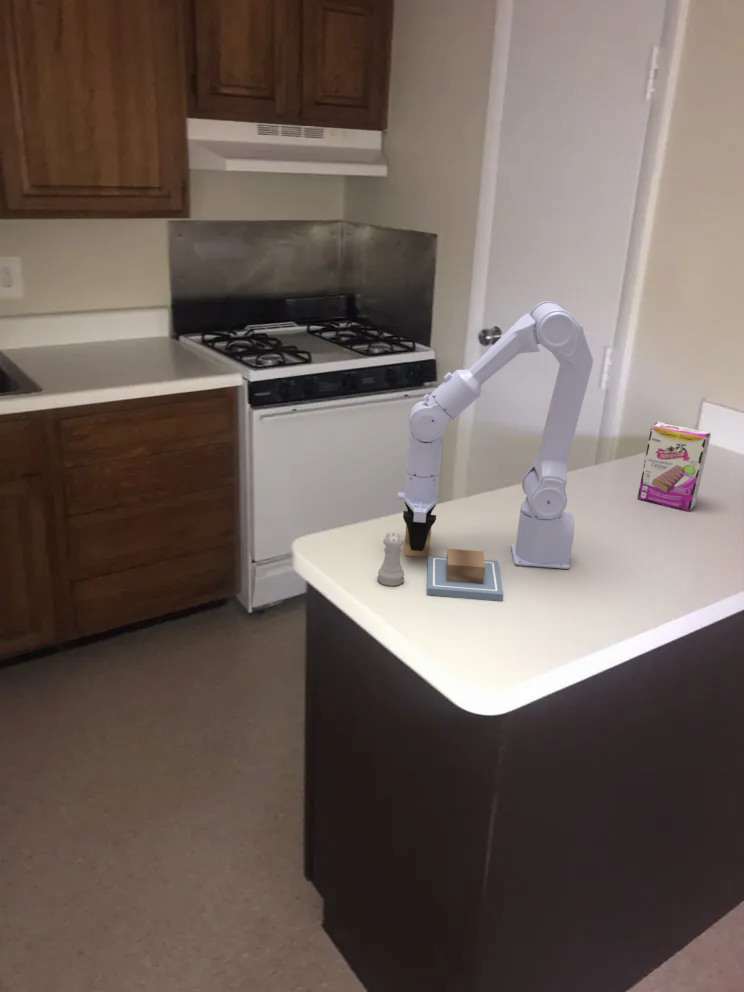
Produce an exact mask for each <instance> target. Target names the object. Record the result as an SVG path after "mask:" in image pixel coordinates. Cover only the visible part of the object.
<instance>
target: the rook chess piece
mask: <svg viewBox="0 0 744 992" xmlns="http://www.w3.org/2000/svg"><path fill="white" fill-rule="evenodd" d="M382 540H383V541H382V542H383V544H384V545H385V548H384V549H383V551H384V559H383V562H382V564H381V565H380V568H379V569H378V571H377V572H378V573H377V574H378V575H377V580H378V582H380V583H381V584H382V585H384V586H387V587H395V586H396V587H397V586H399V585H401V584H402V583H403V582H404V581H405V577H404V576H405V572H404V569H403V567H402V564H401V558H400V557H401V552H402V549H401V546H403V544H404V541H403V539H402V536H401V535H400V534H398V533H397V534H396V533H394V532H392V533H387V534H386V535H385V538H384V539H382Z"/></svg>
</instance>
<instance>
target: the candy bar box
mask: <svg viewBox="0 0 744 992" xmlns="http://www.w3.org/2000/svg"><path fill="white" fill-rule="evenodd" d="M711 435H712V432H710V431H706V430H700V429H695V428H691V427H690V428H689V427H686V426H681V425H676V424H671V423H666V422H663V421H662V422H661V421H656V422H655V423H653V424H652V426H651V427H650V431H649V437H648V441H647V446H646V447H647V448H646V452H645V453H646V454H645V457H644V463H643V468H642V473H641V478H640V484H639V488H638V494H637V500H641V499H642V500H641V501H645V500H646V502H649V501H650V502H649V503H653V502H654V503H653V504H656V503H658V505H661V504H662V506H665V505H666V507H670V508H674V509H677V508H678V509H677V510H681V509H682V511H685V510H686V511H685V512H689V511H690V510H691V511H692V509H693V508H694V507H695V506H696V503H697V499H698V493H699V488H700V485H701V480H702V475H703V470H704V468H705V461H706V458H707V457H706V456H707V453H708V449H709V444H710V440H711ZM691 511H690V512H691Z"/></svg>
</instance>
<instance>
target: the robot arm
mask: <svg viewBox="0 0 744 992" xmlns="http://www.w3.org/2000/svg"><path fill="white" fill-rule="evenodd" d="M538 345H541V346H542V347H543V348H545V349H546V350H548V351H549V352H550V353H552V355H553V356H554V358H555V359H556V361H557V362H558V363H559V367H558V371H557V374H556V375H557V376H556V379H555V383H554V388H553V391H552V396H551V400H550V404H549V409H548V412H547V416H546V419H545V424H544V429H543V432H542V435H541V440H540V444H539V448H538V451H537V452H538V453H537V454H536V455H535V456H534V458H533V459H532V463H531V466H530V468H529V470H528V471H527V472H526V473H525V475H524V476H523V478H522V482H521V485H522V487H521V488H522V490H523V492H524V494H525V495H526V497H525V499H524V501H523V502H522V504H521V505H520V509H519V510H520V512H519V519H518V525H517V535H516V542H515V543H511V545H510V547H511V551H512V554H511V555H512V557H513V562H514V565H516V566H526V567H539V568H551V569H552V568H553V569H562V570H563V569H564V570H566V569H567V570H568V569H570V567H571V565H570V561H571V555H572V550H573V549H572V548H573V542H574V537H575V536H574V534H575V517H574V516H575V515H574V514H573V513H572V512H567V511H565V510H566V508H567V505H568V497H567V491H566V488H567V487H566V486H567V483H568V471H567V470H568V469H567V468H568V466H567V465H568V461H569V460H568V459H569V456H570V452H571V447H572V446H573V445H572V444H573V440H574V437H575V433H576V429H577V426H578V421H579V418H580V415H581V410H582V407H583V401H584V399H585V394H586V391H587V387H588V383H589V380H590V376H591V372H592V368H593V364H594V363H593V362H594V359H593V355H592V353H591V349H590V347H589V344H588V341H587V338H586V335H585V332H584V327H583V326H582V325H581V323H580V322H579V321H578V320H577V319H576V318H575V317H574V316H573V314H572V313H571V312H569V311H567V310H566V309H565V308H564V307H563V305H561V304H559V302H555V301H552V300H549V301H548V300H547V301H542V302H540V303H538V304H536V305H535V306H534V307H533V308H532V310H531V311H530V313H528V312H527V313H525V314H524V315H523V316H521V317H520V318H519V319H518V320H517V321H516V322H515V323H514V324H513V325H512V326H511V327H510V328H509V329H508V330H507V331H506V332H505V333H504V334H503V335H502V336H501V337H500V338H499V339H498V340H497V341H496V342H495V343H494V344H493V345H492V346H490V348H489V349H488V350H487V351H486V352H485V353H483V354H482V356H481V357H479V359H477V360H476V362H475V363H474V364H472V365H471V366H470V367H469V368H468V369H467V368H466V369H457V370H455V371H454V372H453V373H451V372H449V371H448V372H447V373H446V374H445V375H444V376H443V380H444V381H443V382H442V383H441V384H440V385H438V386H437V387H436V388H435V389H434V390H433V391H432V392H431V393H430V394H428V393H426V394H425V395H424V396H422V401H421V400H420V401H419V402H417V403H415V404H414V405H413V406H412V407H411V409H410V413H409V414H408V421H409V429H410V433H409V435H408V444H407V453H406V455H407V456H406V468H405V482H404V484H405V486H404V491H399V492H398V493H397V500H401V501H404V504H405V507H406V509H407V510H403V513H402V518H403V520H404V523H405V525H407V528H408V532H409V540H410V547H411V550H414V551H423V549H424V547H425V543H426V540H427V536H428V533H429V531H430V529H431V530H432V527H433V525H434V523H435V522H436V521H437V515H435V514H432V513H433V510H434V509H435V508H436V506H437V504H438V502H439V498H440V497H439V484H440V473H441V471H440V470H441V459H442V445H441V443H442V437H443V436H444V434H445V432H446V428H447V424H448V423H451V422H453V421H454V420H455V419H456V418H457V417H458V416H459V415H460V414H462V412H464V411H465V410H466V409H468V407H469V406H470V405H472V404H473V403H474V402H475V401H476V400H477V399H478V398H480V397H481V392H482V391H481V388H482V385H484V383H486V381H488V380H489V379H490V378H491V377H493V376H494V375H495V374H497V373H498V372H499V371H500V370H502V368H504V367H505V365H507V364H508V363H510V362H511V361H512V360H513V359H515V358H516V357H517V356H518V355H520V354H525V353H526V354H527V353H529V354H530V353H539V352H540V348H539V346H538Z"/></svg>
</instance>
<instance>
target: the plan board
mask: <svg viewBox="0 0 744 992" xmlns="http://www.w3.org/2000/svg"><path fill="white" fill-rule="evenodd" d="M484 554H485V553H484V551H483V550H470V549H469V550H468V549H458V548H447V549H446V556H437V555H429V556H428V557H427V575H426V576H427V579H426V580H427V581H426V596H433V597H435V596H436V597H444V598H445V597H448V598H457V599H458V598H460V599H473V600H485V601H497V602H498V601H499V602H503V598H504V589H503V585H502V578H501V570H500V564H499V560H490V559H485V555H484Z"/></svg>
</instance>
